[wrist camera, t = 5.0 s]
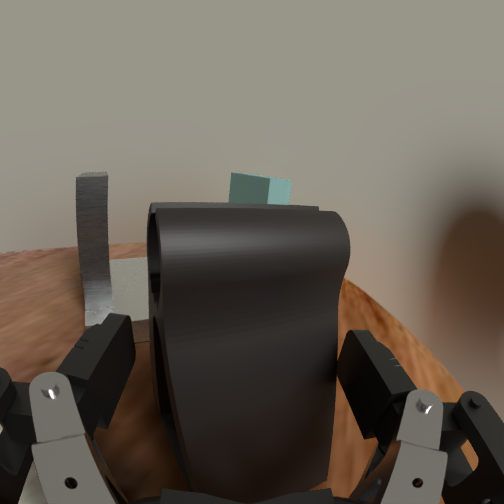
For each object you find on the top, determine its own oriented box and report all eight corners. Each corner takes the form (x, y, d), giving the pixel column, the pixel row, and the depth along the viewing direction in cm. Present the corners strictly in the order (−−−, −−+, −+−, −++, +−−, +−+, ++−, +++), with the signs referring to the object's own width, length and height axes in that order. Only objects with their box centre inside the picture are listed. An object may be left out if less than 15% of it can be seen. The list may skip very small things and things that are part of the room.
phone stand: (154, 398, 14) (139, 188, 11) (243, 380, 17) (265, 191, 13) (209, 529, 7) (201, 266, 3) (324, 483, 10) (438, 246, 6)
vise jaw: (287, 276, 30) (301, 181, 27) (258, 280, 28) (270, 178, 25) (250, 253, 36) (258, 174, 33) (224, 255, 34) (231, 172, 31)
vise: (303, 309, 27) (324, 188, 24) (90, 348, 17) (70, 180, 14) (240, 263, 38) (248, 174, 35) (89, 277, 28) (84, 172, 25)
